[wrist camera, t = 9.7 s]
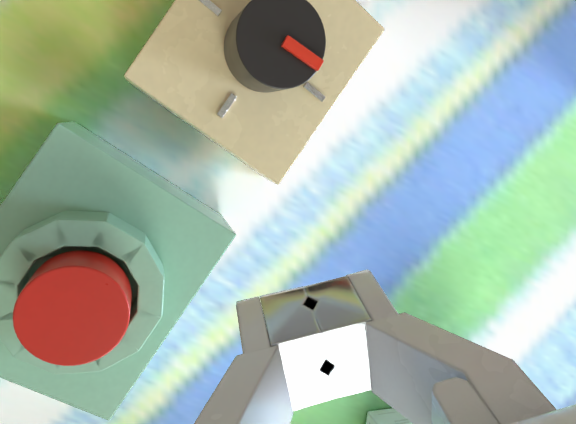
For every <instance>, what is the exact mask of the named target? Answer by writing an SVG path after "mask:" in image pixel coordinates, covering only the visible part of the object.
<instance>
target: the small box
mask: <svg viewBox="0 0 576 424" xmlns="http://www.w3.org/2000/svg"><path fill="white" fill-rule="evenodd" d="M366 424H413V423H412V422H411V421H409V420H408V419H407V418H405V417H404V416H403V415H401V414H400V413H399V412H398V411H396V410H395V409H394V408H390V409H383V410H375V411H368V412H367V420H366Z"/></svg>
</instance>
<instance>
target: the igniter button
mask: <svg viewBox="0 0 576 424" xmlns="http://www.w3.org/2000/svg"><path fill="white" fill-rule="evenodd" d="M131 299H132V290H131V284H130V282H129V279H128V277H127V275H126V273H125V272H124V270H123V269H122V268H121V267H120V266H119V264H117V263H116V262H115V261H114V260H112V259H111V258H109V257H107V256H105V255H103V254H100V253H97V252H93V251H85V250H75V251H69V252H65V253H61V254H59V255H56V256H54V257H52V258H50V259H49V260H47V261H46V262H44V263H43V264H42V265H41V266H40V267H39V268H38V269H37V270H36V271H35V273H34V274H33V275H32V277H31V278H30V280H29V281H28V282H27V284H26V285H25V287H24V288H23V289H22V291H21V292H20V294H19V296H18V298H17V300H16V302H15V305H14V309H13V326H14V330H15V333H16V335H17V338H18V339H19V341H20V343H21V344H22V345H23V346H24V348H25V349H26V350H27V351H28V352H30V353H31V354H32V355H34V356H35V357H37V358H39V359H41V360H43V361H45V362H48V363H51V364H55V365H62V366H75V365H82V364H86V363H90V362H93V361H95V360H97V359H99V358H101V357H103V356H105V355H106V354H108V353H109V352H110V351H112V350H113V349H114V348H115V347H116V346H117V345H118V344H119V342H120V341H121V340H122V338H123V336H124V335H125V333H126V331H127V328H128V325H129V321H130V311H131Z"/></svg>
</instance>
